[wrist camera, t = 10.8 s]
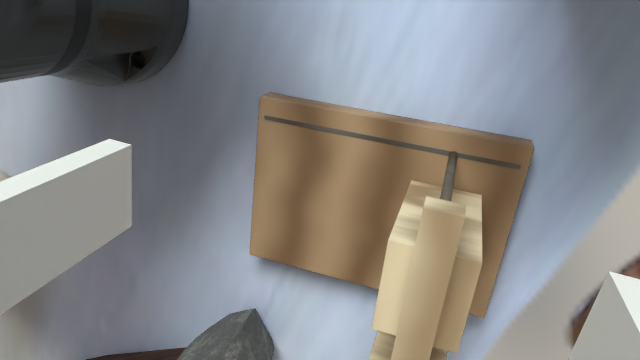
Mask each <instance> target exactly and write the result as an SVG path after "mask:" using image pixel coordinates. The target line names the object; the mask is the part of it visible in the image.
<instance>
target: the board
mask: <svg viewBox="0 0 640 360" xmlns="http://www.w3.org/2000/svg"><path fill="white" fill-rule="evenodd" d="M452 151H455V152H457V154H458V158H457V165H456V172H455V179H454V185H453V189H455V190H460V191H465V192H469V193H474V194H479V195H482V267H481V270H480V274H479V277H478V281H477V285H476V288H475V292H474V295H473V299H472V303H471V306H470V310H469V313H468V314H471V315H475V316H478V317H482V318H484V317H485V314H486V310H487V307H488V304H489V300H490V297H491V293H492V290H493V287H494V283H495V280H496V276H497V273H498V270H499V266H500V263H501V259H502V256H503V253H504V249H505V246H506V242H507V239H508V236H509V232H510V229H511V225H512V222H513V219H514V215H515V212H516V208H517V205H518V202H519V198H520V195H521V191H522V188H523V185H524V181H525V178H526V174H527V171H528V168H529V164H530V161H531V157H532V154H533V151H534V146H533V143H532V140H527V139H522V138H516V137H511V136H505V135H500V134H494V133H489V132H483V131H478V130H472V129H467V128H461V127H456V126H450V125H445V124H439V123H434V122H428V121H423V120H417V119H412V118H406V117H401V116H395V115H389V114H384V113H378V112H373V111H367V110H362V109H356V108H351V107H345V106H340V105H334V104H329V103H323V102H318V101H312V100H307V99H301V98H296V97H290V96H285V95H279V94H274V93H268V94H266V95H264V96H261V97H260V103H259V118H258V133H257V149H256V164H255V179H254V195H253V210H252V225H251V240H250V255H254V256H258V257H261V258H265V259H269V260H272V261H276V262H280V263H283V264H287V265H291V266H294V267H298V268H302V269H306V270H309V271H313V272H317V273H320V274H324V275H328V276H331V277H335V278H339V279H342V280H346V281H350V282H353V283H357V284H361V285H364V286H368V287H372V288H375V289H379V286H380V281H381V276H382V271H383V265H384V260H385V255H386V249H387V244H388V239H389V237H390V234H391V232H392V229H393V227H394V224H395V221H396V219H397V216H398V214H399V211H400V208H401V206H402V203H403V201H404V198H405V196H406V193H407V190H408V188H409V185H410V183H411V180H413V181H418V182H422V183H427V184H432V185H437V186H441V187H442V186H443V181H444V177H445V172H446V167H447V162H448V157H449V153H450V152H452Z"/></svg>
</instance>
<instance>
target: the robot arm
mask: <svg viewBox="0 0 640 360" xmlns="http://www.w3.org/2000/svg"><path fill="white" fill-rule="evenodd" d="M187 11H188V0H0V83H2V82H8V81H14V80H20V79H26V78H32V77H37V76H44V75H52V76H56V77H61V78H65V79H70V80H74V81H79V82H83V83H87V84H92V85H97V86H119V85H124V84H129V83H133V82H138V81H141V80H144V79H146V78H149V77H151V76H152V75H154V74H155V73H157V72H158V71H160V70H161V69H162V68H163V67H164V66H165V65H166V64H167V63H168V62H169V60H170V59H171V58H172V56H173V55H174V53H175V51H176V50H177V48H178V46H179V44H180V41H181V39H182V36H183V33H184V29H185V25H186V19H187ZM131 226H132V145H131V144H127V143H123V142H120V141H116V140H112V139H107V140H105V141H102V142H100V143H97V144H95V145H92V146H90V147H87V148H85V149H82V150H79V151H77V152H74V153H72V154H69V155H67V156H64V157H62V158H59V159H57V160H54V161H51V162H49V163H46V164H44V165H41V166H39V167H36V168H34V169H31V170H29V171H26V172H23V173H21V174H18V175H16V176H13V177H11V178H8V179H6V180H3V181H0V315H1V314H3V313H4V312H6V311H7V310H9V309H10V308H12V307H13V306H15V305H16V304H18V303H19V302H20V301H22V300H23V299H25V298H26V297H28V296H29V295H31V294H32V293H34V292H35V291H37V290H38V289H40V288H41V287H43V286H44V285H46V284H47V283H49V282H50V281H52V280H53V279H54V278H56V277H57V276H59V275H60V274H62V273H63V272H65V271H66V270H68V269H69V268H71V267H72V266H74V265H75V264H77V263H78V262H80V261H81V260H83V259H84V258H86V257H87V256H89V255H90V254H91V253H93V252H94V251H96V250H97V249H99V248H100V247H102V246H103V245H105V244H106V243H108V242H109V241H111V240H112V239H114V238H115V237H117V236H118V235H120V234H121V233H123V232H124V231H125V230H127V229H128V228H130V227H131ZM568 360H640V279H636V278H632V277H628V276H625V275H621V274H617V273H613V272H608V274H607V277H606V279H605V281H604V283H603V285H602V287H601V289H600V292H599V294H598V296H597V298H596V300H595V302H594V305H593V307H592V309H591V311H590V313H589V315H588V317H587V320H586V322H585V324H584V326H583V328H582V330H581V332H580V335H579V337H578V339H577V341H576V343H575V345H574V347H573V350H572V352H571V354H570V356H569V358H568Z"/></svg>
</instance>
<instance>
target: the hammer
mask: <svg viewBox="0 0 640 360" xmlns="http://www.w3.org/2000/svg"><path fill="white" fill-rule="evenodd" d="M273 351H274V345H273V341H272V338H271V337H270V335H269V333H268V331H267V329H266V328H265V326H264V324H263V322H262V320H261V318H260V317H259V315H258V313H257V311H256V309H250V310H246V311H241V312H236V313H232V314H229V315H227V316H226V317H224V318H223V319H221V320H220V321H219V322H217V323H216V324H214V325H213V326H211V327H210V328H208V329H207V330H206V331H205V332H203V333H202V334H201V335H200V336H198V337H197V338H196V339H195V340H194V341H193V342H192V343H191V344H190V345H189V346H188V347H187V348H177V349H166V350H156V351H146V352H136V353H126V354H116V355H106V356H101V357H96V358H91V359H87V360H271V359H272V355H273Z"/></svg>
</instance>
